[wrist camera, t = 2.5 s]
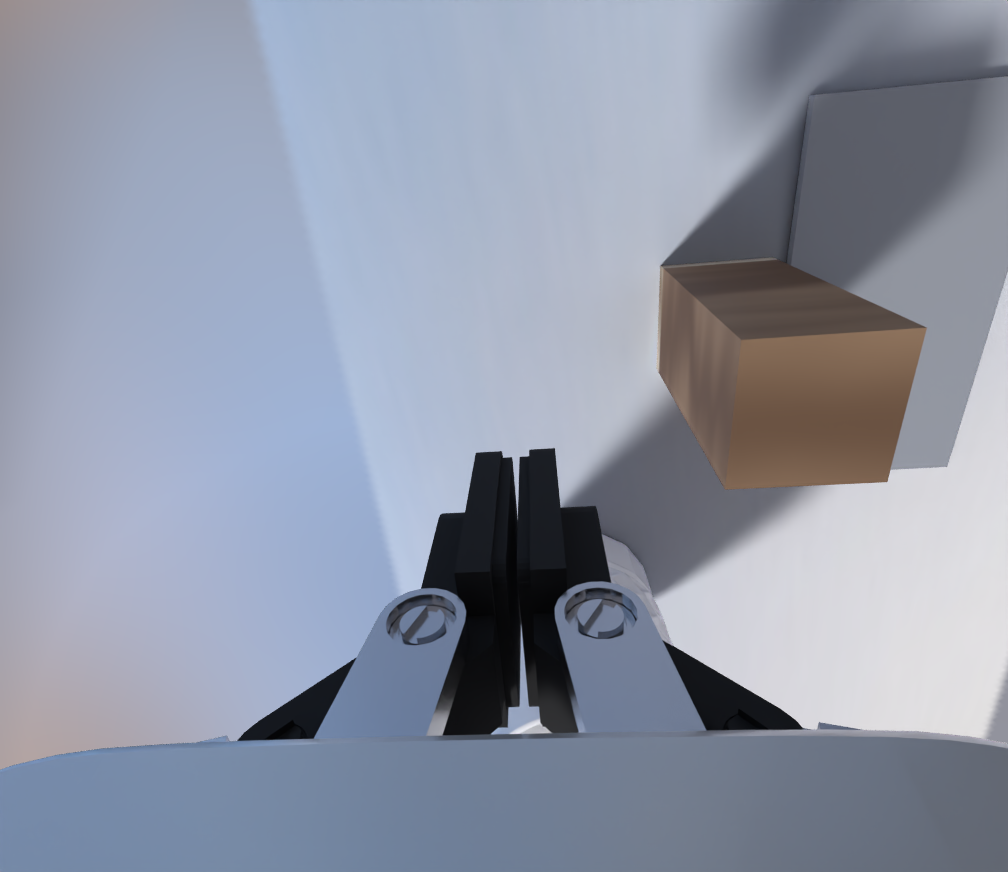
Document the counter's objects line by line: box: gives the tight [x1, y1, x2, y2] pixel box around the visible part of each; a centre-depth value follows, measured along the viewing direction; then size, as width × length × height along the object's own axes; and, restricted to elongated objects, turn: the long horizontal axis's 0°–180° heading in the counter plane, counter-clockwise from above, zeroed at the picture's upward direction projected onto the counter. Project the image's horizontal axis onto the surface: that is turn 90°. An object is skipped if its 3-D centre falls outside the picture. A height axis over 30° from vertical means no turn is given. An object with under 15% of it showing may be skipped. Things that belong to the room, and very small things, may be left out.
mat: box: [787, 76, 1008, 470], centre depth 21 cm, size 14×8×1 cm, turn 5°
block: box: [657, 257, 927, 490], centre depth 18 cm, size 4×4×9 cm
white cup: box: [491, 534, 673, 734], centre depth 23 cm, size 8×8×10 cm
